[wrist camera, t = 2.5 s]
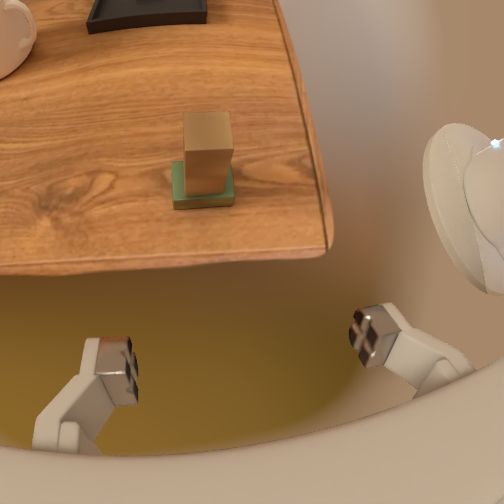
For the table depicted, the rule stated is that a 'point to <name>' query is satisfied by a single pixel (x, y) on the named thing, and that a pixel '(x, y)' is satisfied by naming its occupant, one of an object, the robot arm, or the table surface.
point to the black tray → (144, 13)
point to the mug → (15, 35)
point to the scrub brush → (204, 162)
